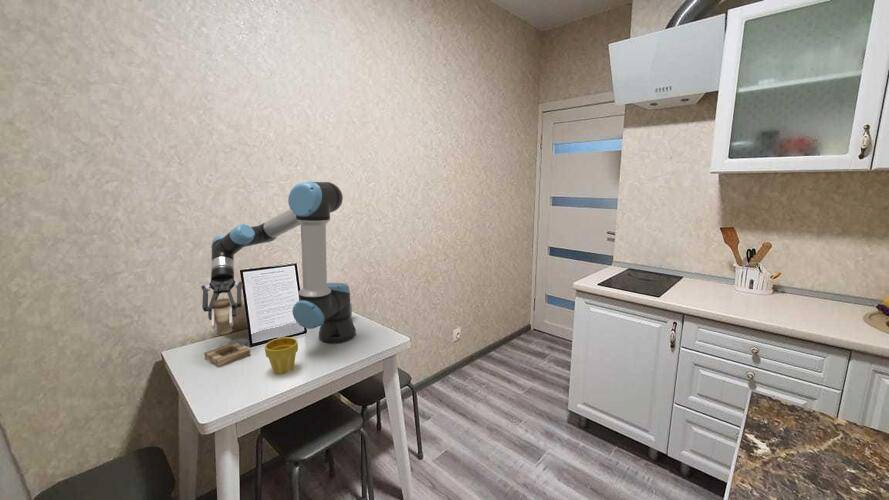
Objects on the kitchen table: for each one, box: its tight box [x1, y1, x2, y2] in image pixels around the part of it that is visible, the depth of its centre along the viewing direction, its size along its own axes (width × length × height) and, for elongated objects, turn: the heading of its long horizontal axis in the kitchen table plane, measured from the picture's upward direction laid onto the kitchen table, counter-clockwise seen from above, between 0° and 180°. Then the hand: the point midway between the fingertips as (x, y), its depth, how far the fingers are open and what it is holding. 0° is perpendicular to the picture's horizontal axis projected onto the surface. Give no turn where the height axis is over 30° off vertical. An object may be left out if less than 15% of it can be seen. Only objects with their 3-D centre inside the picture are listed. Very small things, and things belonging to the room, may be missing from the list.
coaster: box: [227, 338, 249, 346], centre depth 146 cm, size 7×7×1 cm
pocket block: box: [203, 342, 251, 368], centre depth 134 cm, size 11×11×2 cm
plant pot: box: [264, 336, 299, 375], centre depth 125 cm, size 10×10×10 cm
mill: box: [213, 298, 233, 336], centre depth 131 cm, size 5×5×12 cm
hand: (222, 325), depth 128 cm, fingers closed on mill, 5 cm apart
